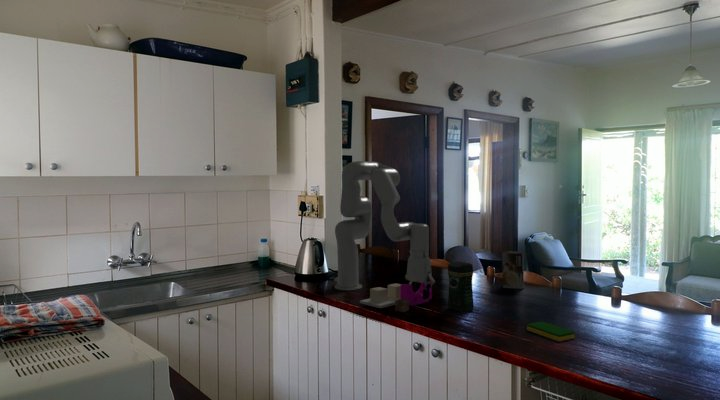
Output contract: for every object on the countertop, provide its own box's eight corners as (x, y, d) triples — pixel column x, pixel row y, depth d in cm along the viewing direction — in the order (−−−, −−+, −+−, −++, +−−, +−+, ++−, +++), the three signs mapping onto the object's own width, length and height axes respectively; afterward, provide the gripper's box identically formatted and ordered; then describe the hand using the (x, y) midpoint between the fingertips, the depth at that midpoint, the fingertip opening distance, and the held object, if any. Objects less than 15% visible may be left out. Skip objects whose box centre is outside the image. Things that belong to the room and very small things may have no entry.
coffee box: (524, 286, 238) (524, 251, 238) (523, 289, 232) (523, 253, 232) (503, 285, 242) (503, 250, 241) (502, 288, 236) (502, 252, 235)
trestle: (360, 303, 212) (359, 288, 212) (394, 294, 226) (394, 281, 225) (380, 308, 203) (380, 293, 203) (414, 299, 217) (414, 285, 216)
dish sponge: (559, 342, 161) (559, 335, 160) (526, 331, 173) (526, 323, 173) (575, 339, 164) (575, 331, 164) (542, 328, 176) (542, 321, 176)
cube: (395, 311, 200) (394, 300, 199) (400, 308, 203) (399, 298, 203) (404, 312, 197) (404, 302, 197) (409, 310, 201) (409, 299, 200)
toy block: (411, 306, 206) (411, 287, 205) (400, 303, 210) (400, 284, 210) (436, 299, 216) (436, 281, 215) (425, 296, 220) (425, 279, 220)
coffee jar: (477, 310, 198) (477, 262, 197) (462, 313, 194) (461, 264, 193) (459, 305, 206) (459, 259, 205) (444, 308, 202) (444, 261, 201)
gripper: (397, 252, 216) (398, 295, 217) (429, 257, 203) (429, 302, 204) (410, 250, 221) (410, 292, 222) (441, 255, 208) (441, 299, 209)
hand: (419, 296), depth 213 cm, fingers closed on toy block, 6 cm apart
